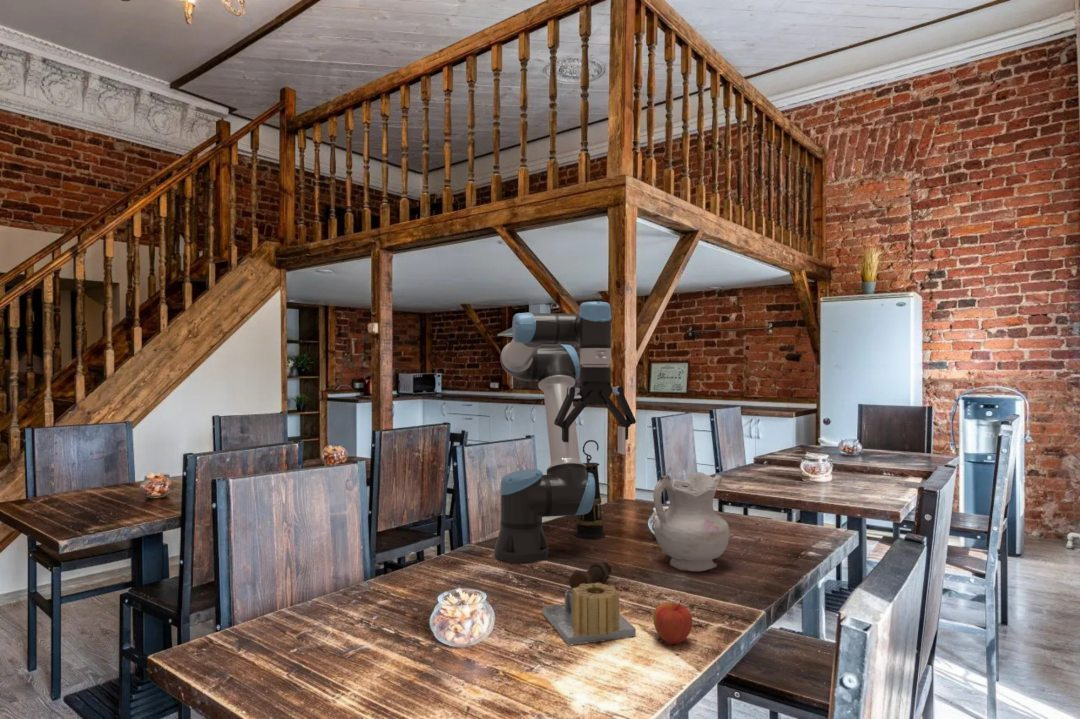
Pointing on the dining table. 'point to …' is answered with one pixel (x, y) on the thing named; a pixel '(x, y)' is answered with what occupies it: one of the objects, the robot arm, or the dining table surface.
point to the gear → (595, 609)
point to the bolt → (590, 574)
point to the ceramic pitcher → (690, 522)
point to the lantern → (590, 523)
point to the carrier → (563, 624)
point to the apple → (672, 622)
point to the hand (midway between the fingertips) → (595, 454)
